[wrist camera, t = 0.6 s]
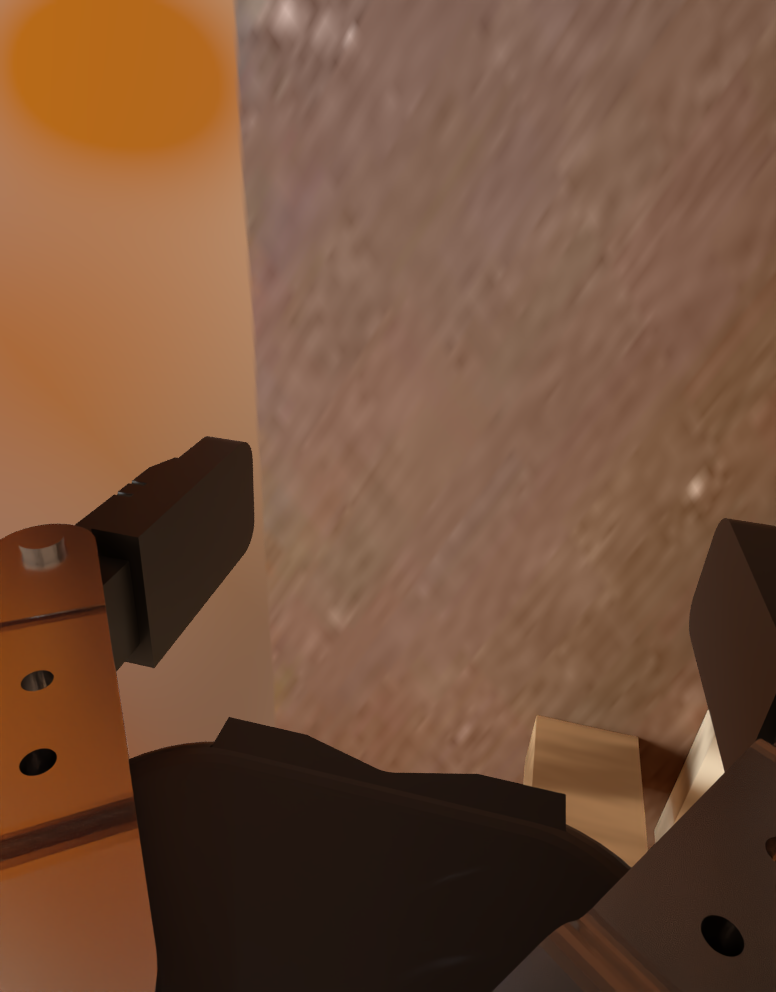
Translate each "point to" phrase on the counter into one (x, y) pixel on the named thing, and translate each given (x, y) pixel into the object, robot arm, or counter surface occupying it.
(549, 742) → the oak plank block
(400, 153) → the counter surface
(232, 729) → the robot arm
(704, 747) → the birch board
